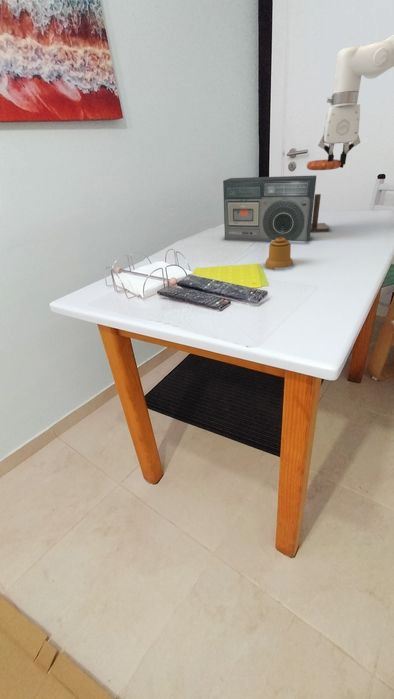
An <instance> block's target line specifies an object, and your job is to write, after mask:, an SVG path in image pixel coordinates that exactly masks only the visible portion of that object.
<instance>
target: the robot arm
mask: <svg viewBox="0 0 394 699" xmlns="http://www.w3.org/2000/svg"><path fill="white" fill-rule="evenodd" d="M392 68H394V33H393V34H392V35H390V36H389V37H388V38H386V39H385V40H380V41H376V42H374V43H370V44H366V45H363V46H361V45H355V46H354V45H353V46H348V47H344V48H342V49H340V50H339V51H338V52H337V55H336V62H335V70H334V79H333V87H332V94H331V96H329V97H327V98H326V103H327V104H330V106H329V107H328V109H327V112H326V117H325V123H324V126H323V134H322V137H321V138H320V140H319V142H318V145H317V147H319V148H321V149H323V150H324V151H325V152H326V154H327V160H328V162H329V161H333V159H334V158H335V155H334V148H335V144H336V145H337V144H342V151H341V154H340V158H339V160H340V161H341V166H340V167H339V168H341V169H343V168H344V166H345V165H346V163H347V162H346V161H347V155H348V153H349V152H350V151H351V150H352V149H353V148H355V147H356V146H358V145H359V144H361V139H360V136H359V133H360V132H359V130H360V122H361V121H360V120H361V104H358V101H359V95H360V94H359V93H360V88H361V80H362V76H363V77H364V78H366V79H369V80H372V79H376V78H378V77H379V76H381V75H383V74H384V73H386V72H387V71H389V70H390V69H392ZM327 144H328V145H327Z"/></svg>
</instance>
